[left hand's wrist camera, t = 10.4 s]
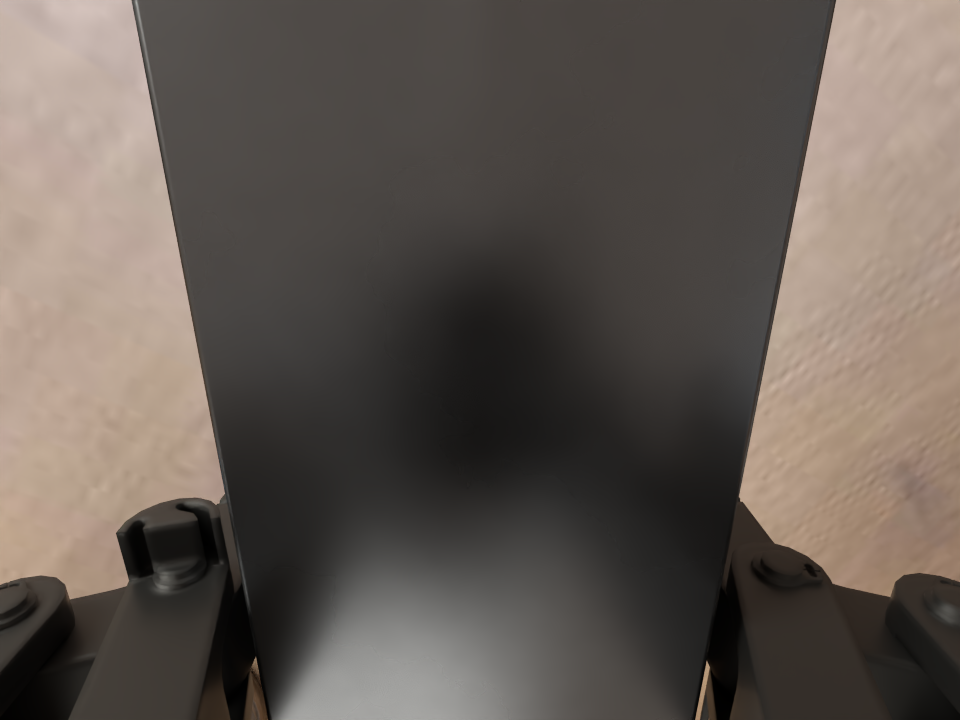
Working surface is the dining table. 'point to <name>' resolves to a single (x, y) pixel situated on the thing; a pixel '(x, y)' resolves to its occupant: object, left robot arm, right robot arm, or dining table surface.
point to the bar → (482, 330)
